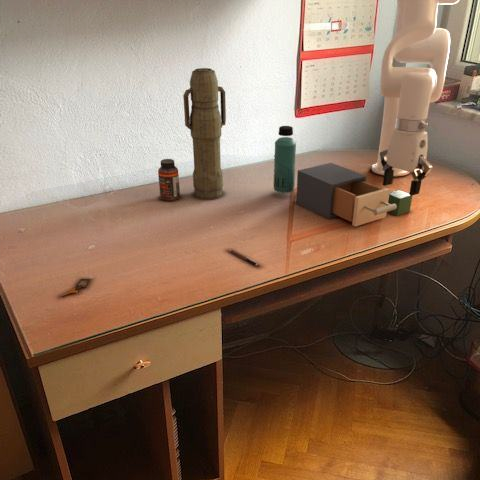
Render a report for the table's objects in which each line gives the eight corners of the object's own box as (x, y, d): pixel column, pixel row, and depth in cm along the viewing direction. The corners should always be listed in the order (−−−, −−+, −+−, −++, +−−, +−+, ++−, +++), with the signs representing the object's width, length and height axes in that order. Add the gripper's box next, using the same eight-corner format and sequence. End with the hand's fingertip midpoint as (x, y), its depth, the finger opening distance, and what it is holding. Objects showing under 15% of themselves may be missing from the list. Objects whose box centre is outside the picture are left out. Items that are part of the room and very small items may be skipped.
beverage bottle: (294, 190, 166) (297, 123, 155) (294, 198, 160) (297, 129, 149) (273, 190, 166) (275, 123, 155) (272, 197, 161) (274, 129, 150)
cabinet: (362, 208, 153) (366, 175, 148) (329, 218, 147) (332, 184, 142) (328, 194, 163) (331, 162, 158) (296, 202, 157) (297, 170, 152)
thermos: (184, 193, 165) (176, 69, 145) (218, 186, 169) (215, 65, 150) (197, 202, 158) (190, 73, 139) (232, 195, 163) (230, 69, 144)
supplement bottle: (156, 200, 160) (152, 162, 154) (166, 193, 165) (163, 156, 159) (174, 202, 158) (171, 164, 152) (183, 195, 163) (180, 158, 157)
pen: (260, 267, 124) (260, 263, 124) (257, 268, 124) (257, 264, 123) (230, 250, 132) (230, 246, 131) (227, 251, 131) (227, 247, 131)
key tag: (82, 278, 120) (81, 275, 120) (94, 280, 119) (93, 277, 119) (61, 296, 113) (60, 293, 113) (73, 298, 113) (72, 296, 112)
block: (396, 206, 154) (398, 189, 151) (409, 211, 151) (412, 194, 148) (383, 210, 152) (386, 193, 149) (397, 215, 148) (400, 198, 146)
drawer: (399, 222, 142) (404, 194, 138) (368, 233, 137) (372, 203, 133) (351, 202, 155) (354, 175, 151) (321, 210, 150) (323, 183, 145)
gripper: (447, 129, 134) (434, 195, 143) (395, 117, 146) (386, 178, 155) (427, 133, 130) (415, 201, 139) (375, 120, 143) (367, 183, 152)
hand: (400, 189), depth 147 cm, fingers open, 9 cm apart
